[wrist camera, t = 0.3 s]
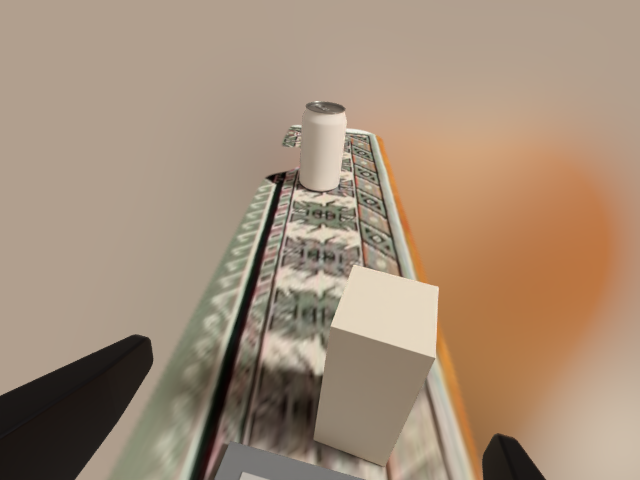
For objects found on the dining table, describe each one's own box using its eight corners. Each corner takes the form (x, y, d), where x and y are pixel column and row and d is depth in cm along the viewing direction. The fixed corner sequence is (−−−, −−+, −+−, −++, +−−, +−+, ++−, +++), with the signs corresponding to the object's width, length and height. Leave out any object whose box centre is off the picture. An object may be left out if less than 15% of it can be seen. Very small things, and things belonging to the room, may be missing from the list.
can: (312, 196, 52) (318, 115, 45) (291, 178, 56) (294, 102, 49) (346, 188, 55) (357, 111, 48) (324, 172, 59) (331, 99, 52)
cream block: (384, 467, 23) (435, 358, 16) (313, 440, 24) (330, 326, 17) (394, 398, 27) (438, 287, 19) (332, 378, 28) (353, 264, 20)
